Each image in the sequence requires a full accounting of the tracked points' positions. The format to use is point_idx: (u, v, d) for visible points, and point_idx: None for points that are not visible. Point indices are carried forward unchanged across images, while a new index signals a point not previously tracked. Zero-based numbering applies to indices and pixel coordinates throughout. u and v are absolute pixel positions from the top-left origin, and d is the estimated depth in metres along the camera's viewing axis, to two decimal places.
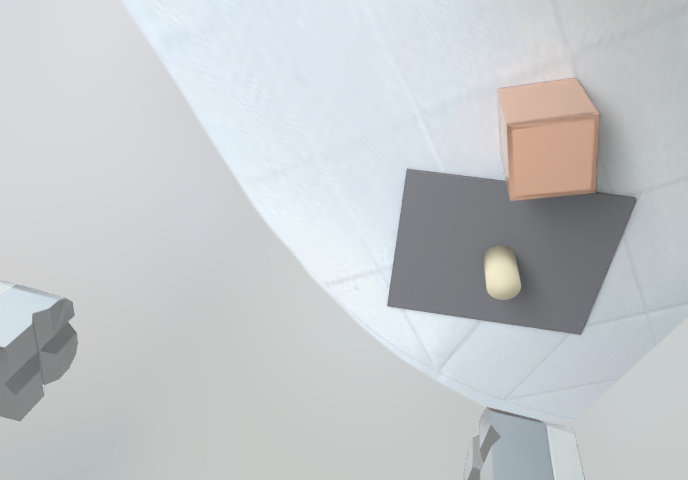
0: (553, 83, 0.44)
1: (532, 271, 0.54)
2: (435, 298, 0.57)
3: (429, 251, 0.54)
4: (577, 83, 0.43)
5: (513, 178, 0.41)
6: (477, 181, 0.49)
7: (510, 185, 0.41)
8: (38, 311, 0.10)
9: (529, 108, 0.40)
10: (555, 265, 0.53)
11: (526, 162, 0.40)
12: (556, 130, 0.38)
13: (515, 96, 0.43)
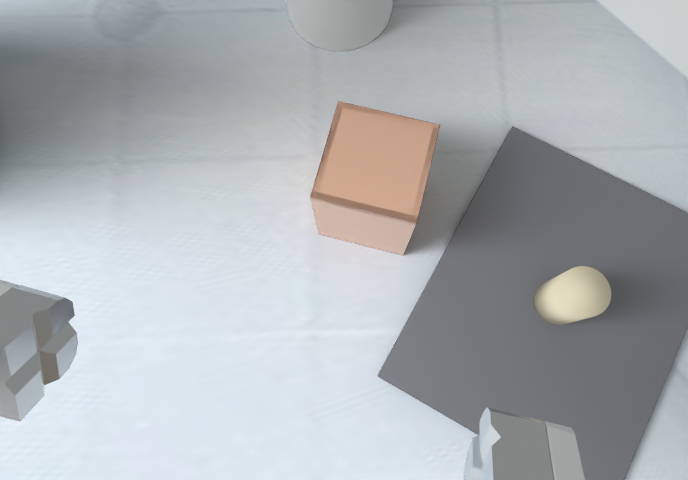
0: None
1: (591, 265, 0.37)
2: (611, 422, 0.35)
3: (518, 396, 0.35)
4: None
5: (384, 209, 0.30)
6: (426, 292, 0.37)
7: (393, 215, 0.30)
8: (38, 311, 0.10)
9: None
10: (588, 234, 0.38)
11: (368, 188, 0.31)
12: (339, 146, 0.31)
13: None
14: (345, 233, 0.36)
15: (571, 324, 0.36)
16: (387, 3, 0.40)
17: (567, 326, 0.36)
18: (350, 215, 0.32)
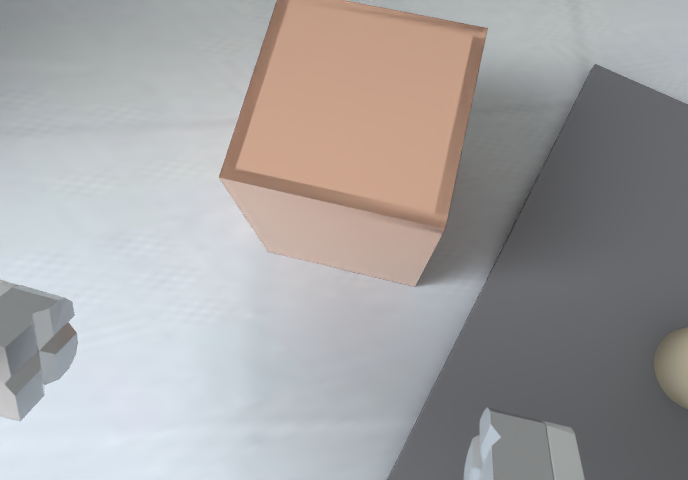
0: None
1: None
2: None
3: None
4: None
5: (376, 201, 0.14)
6: (457, 352, 0.21)
7: (395, 214, 0.14)
8: (38, 311, 0.10)
9: None
10: None
11: (342, 158, 0.15)
12: (282, 75, 0.15)
13: None
14: (310, 250, 0.20)
15: None
16: None
17: None
18: (308, 216, 0.16)
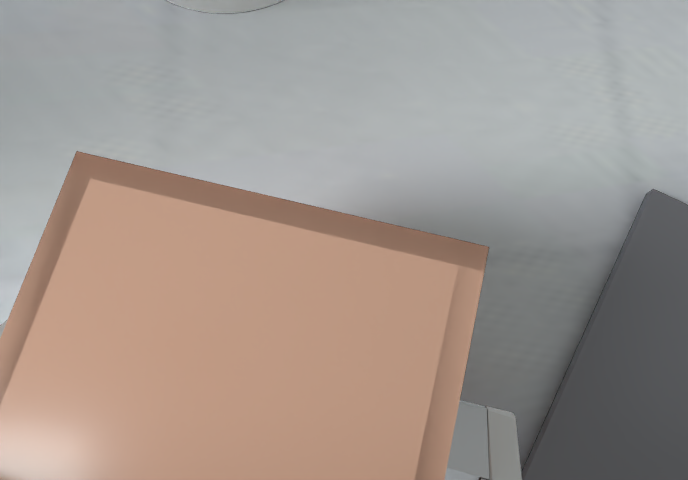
0: None
1: None
2: None
3: None
4: None
5: None
6: None
7: None
8: None
9: None
10: None
11: None
12: (56, 351, 0.07)
13: None
14: None
15: None
16: None
17: None
18: None
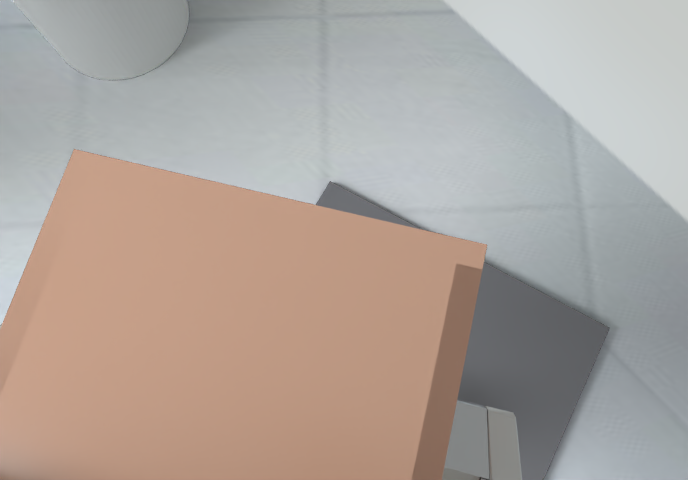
0: None
1: None
2: None
3: None
4: None
5: None
6: None
7: None
8: None
9: None
10: None
11: None
12: (53, 349, 0.07)
13: None
14: None
15: None
16: (160, 18, 0.30)
17: None
18: None
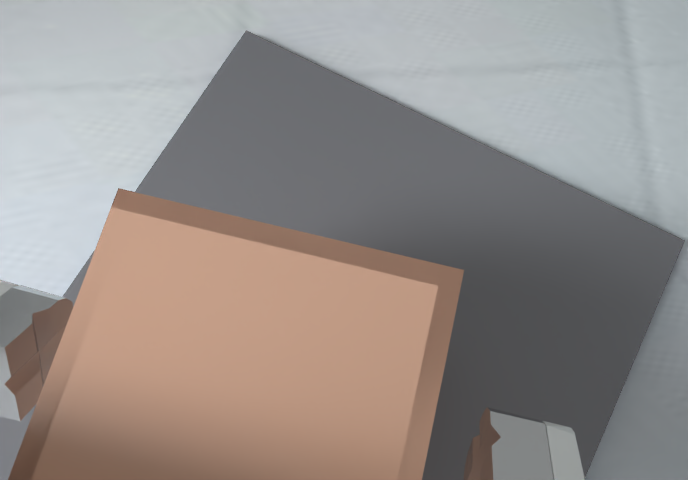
0: None
1: None
2: None
3: None
4: None
5: None
6: None
7: None
8: (38, 311, 0.10)
9: None
10: (379, 248, 0.17)
11: None
12: (105, 357, 0.09)
13: None
14: None
15: None
16: None
17: None
18: None
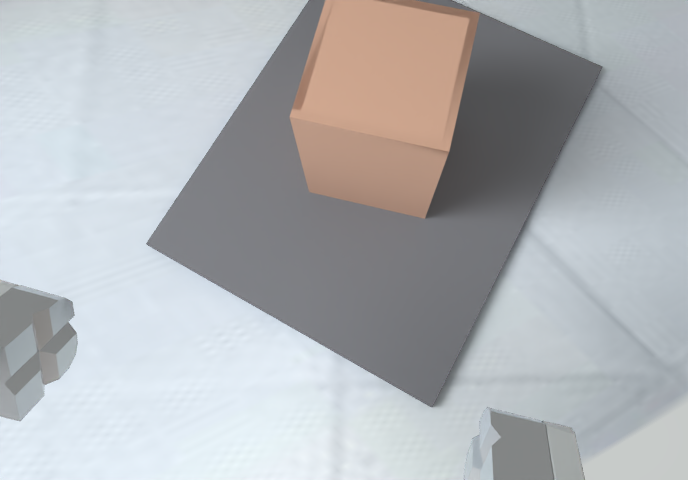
0: None
1: None
2: (440, 295, 0.27)
3: (323, 266, 0.27)
4: None
5: (400, 133, 0.20)
6: (217, 143, 0.29)
7: (414, 142, 0.20)
8: (38, 311, 0.10)
9: None
10: None
11: (376, 103, 0.21)
12: (332, 46, 0.21)
13: None
14: (344, 186, 0.26)
15: None
16: None
17: None
18: (350, 149, 0.22)
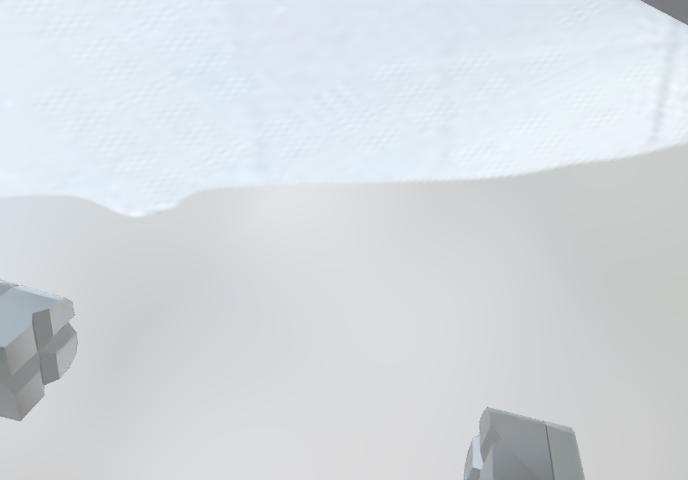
0: None
1: None
2: None
3: None
4: None
5: None
6: None
7: None
8: (38, 311, 0.10)
9: None
10: None
11: None
12: None
13: None
14: None
15: None
16: None
17: None
18: None
